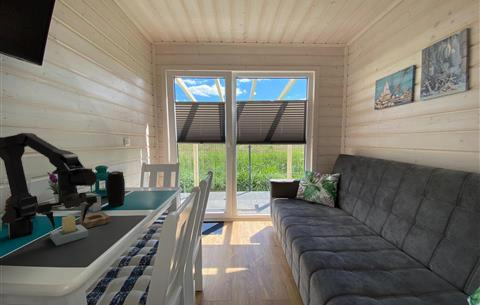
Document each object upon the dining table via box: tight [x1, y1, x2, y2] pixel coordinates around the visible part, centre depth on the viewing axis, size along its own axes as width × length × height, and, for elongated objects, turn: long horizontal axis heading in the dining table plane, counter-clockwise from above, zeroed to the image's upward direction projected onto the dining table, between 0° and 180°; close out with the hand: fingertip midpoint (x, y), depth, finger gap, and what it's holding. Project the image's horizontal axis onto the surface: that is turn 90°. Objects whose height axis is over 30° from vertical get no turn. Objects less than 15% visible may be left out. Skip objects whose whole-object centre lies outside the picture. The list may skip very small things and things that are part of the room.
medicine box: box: [86, 192, 102, 213], centre depth 122 cm, size 8×4×9 cm, turn 62°
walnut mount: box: [78, 212, 112, 229], centre depth 104 cm, size 10×10×2 cm
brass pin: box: [61, 215, 77, 235], centre depth 88 cm, size 4×4×8 cm
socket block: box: [49, 223, 89, 246], centre depth 88 cm, size 10×10×2 cm
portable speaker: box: [106, 170, 126, 208], centre depth 131 cm, size 9×9×20 cm
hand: (68, 224), depth 88 cm, fingers open, 9 cm apart
